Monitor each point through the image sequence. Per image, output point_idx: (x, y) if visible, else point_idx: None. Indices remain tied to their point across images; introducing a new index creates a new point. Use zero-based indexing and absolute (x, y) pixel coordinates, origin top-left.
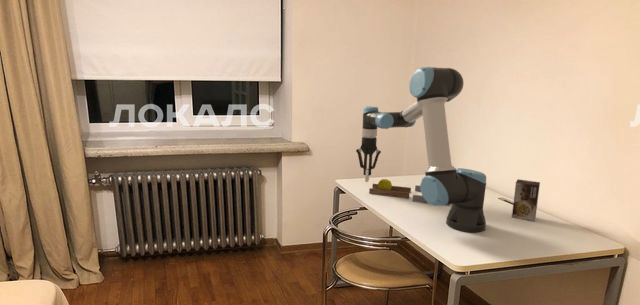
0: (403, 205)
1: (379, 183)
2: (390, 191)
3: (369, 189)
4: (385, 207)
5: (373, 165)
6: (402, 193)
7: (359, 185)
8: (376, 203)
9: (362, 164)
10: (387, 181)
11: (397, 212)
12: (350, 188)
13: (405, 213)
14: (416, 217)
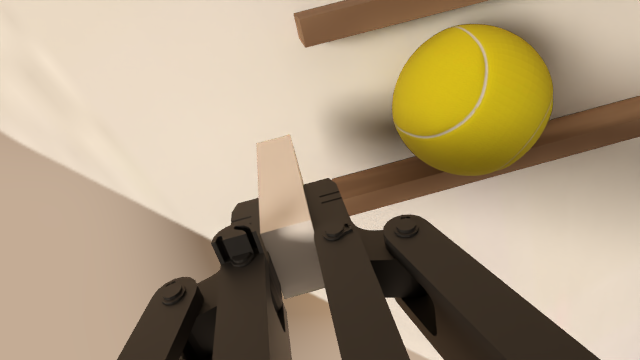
0: (586, 261)
1: (432, 163)
2: (520, 167)
3: None
4: None
5: (433, 324)
6: (612, 139)
7: (117, 3)
8: None
9: (182, 327)
10: (530, 146)
11: None
12: (124, 167)
13: (590, 340)
14: (632, 348)
